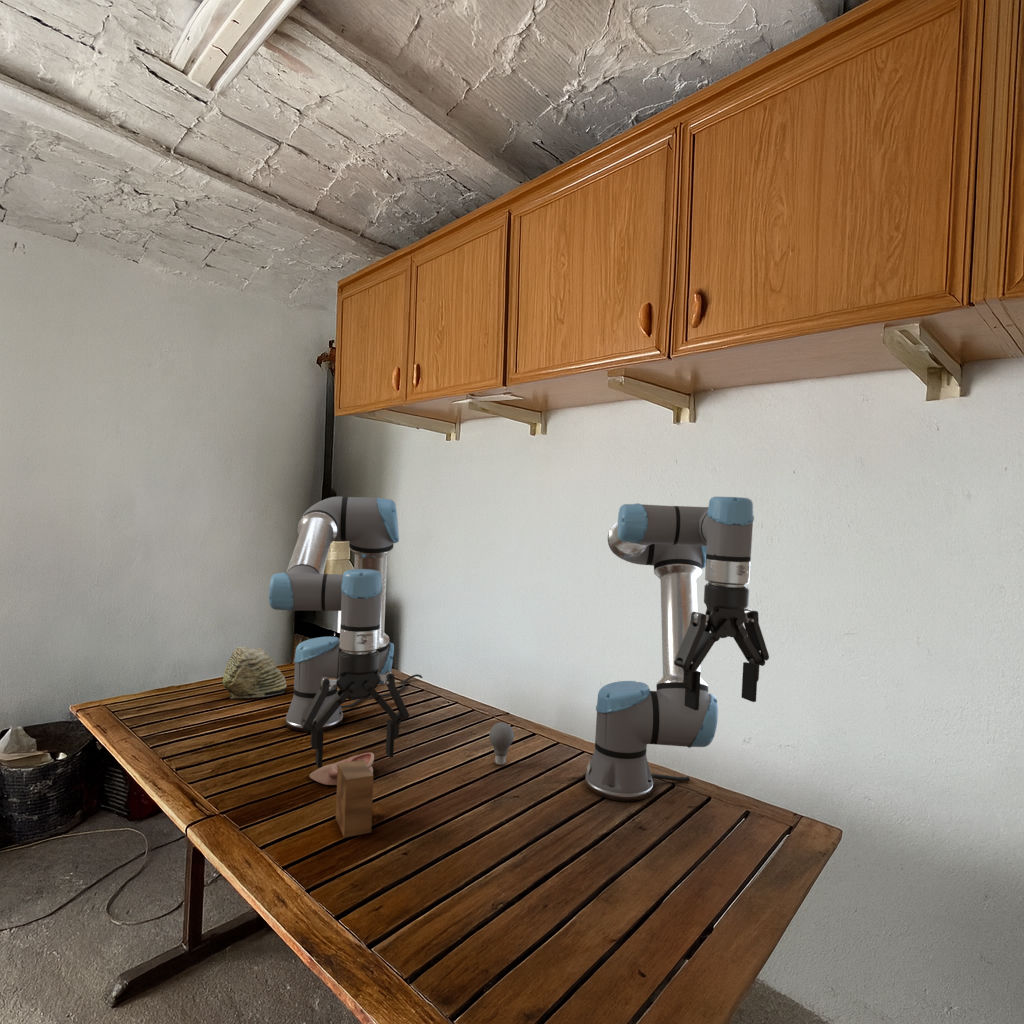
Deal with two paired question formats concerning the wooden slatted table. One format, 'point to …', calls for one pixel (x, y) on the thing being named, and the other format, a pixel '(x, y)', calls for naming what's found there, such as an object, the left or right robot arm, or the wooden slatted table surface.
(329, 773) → the anatomical model
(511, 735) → the light bulb
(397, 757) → the wooden slatted table surface
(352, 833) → the block
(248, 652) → the fossil
